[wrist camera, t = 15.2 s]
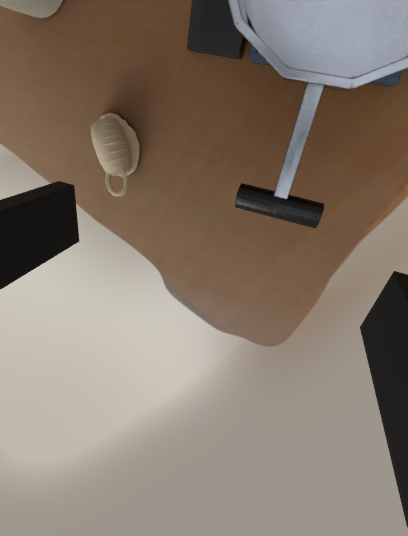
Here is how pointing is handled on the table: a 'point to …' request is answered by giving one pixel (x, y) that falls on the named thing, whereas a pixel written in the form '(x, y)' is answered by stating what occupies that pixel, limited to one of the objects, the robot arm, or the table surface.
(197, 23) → the stand
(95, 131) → the decorative ornament
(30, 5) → the travel mug
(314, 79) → the grey frying pan
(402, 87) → the table surface
